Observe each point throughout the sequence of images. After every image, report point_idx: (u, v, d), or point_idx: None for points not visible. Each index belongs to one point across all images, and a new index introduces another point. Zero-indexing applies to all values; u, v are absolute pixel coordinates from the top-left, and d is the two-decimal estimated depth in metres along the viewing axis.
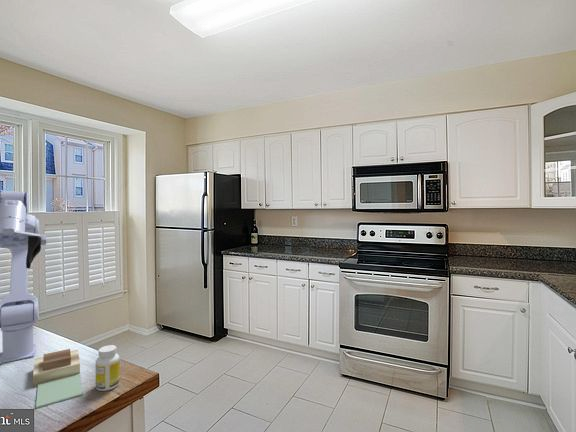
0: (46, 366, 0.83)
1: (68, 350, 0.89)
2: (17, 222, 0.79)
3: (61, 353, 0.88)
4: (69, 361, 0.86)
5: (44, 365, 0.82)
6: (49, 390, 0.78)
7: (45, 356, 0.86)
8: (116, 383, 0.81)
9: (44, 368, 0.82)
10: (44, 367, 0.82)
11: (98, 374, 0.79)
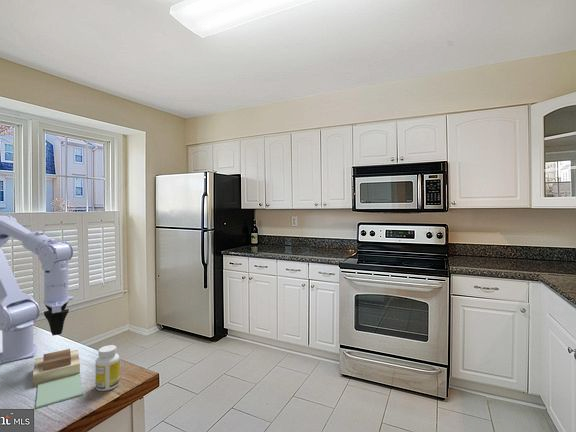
0: (46, 366, 0.83)
1: (68, 350, 0.89)
2: None
3: (61, 353, 0.88)
4: (69, 361, 0.86)
5: (44, 365, 0.82)
6: (49, 390, 0.78)
7: (45, 356, 0.86)
8: (116, 383, 0.81)
9: (44, 368, 0.82)
10: (44, 367, 0.82)
11: (98, 374, 0.79)
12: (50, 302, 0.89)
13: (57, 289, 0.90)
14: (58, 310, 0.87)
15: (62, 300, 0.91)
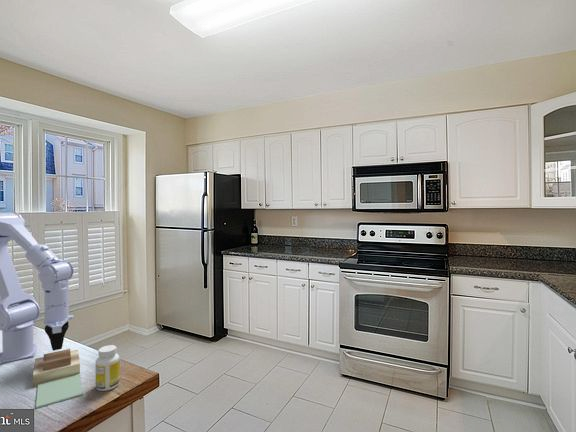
0: (46, 366, 0.83)
1: (68, 350, 0.89)
2: None
3: (61, 353, 0.88)
4: (69, 361, 0.86)
5: (44, 365, 0.82)
6: (49, 390, 0.78)
7: (45, 356, 0.86)
8: (116, 383, 0.81)
9: (44, 368, 0.82)
10: (44, 367, 0.82)
11: (98, 374, 0.79)
12: (50, 322, 0.90)
13: (57, 309, 0.90)
14: (58, 330, 0.87)
15: (62, 319, 0.91)
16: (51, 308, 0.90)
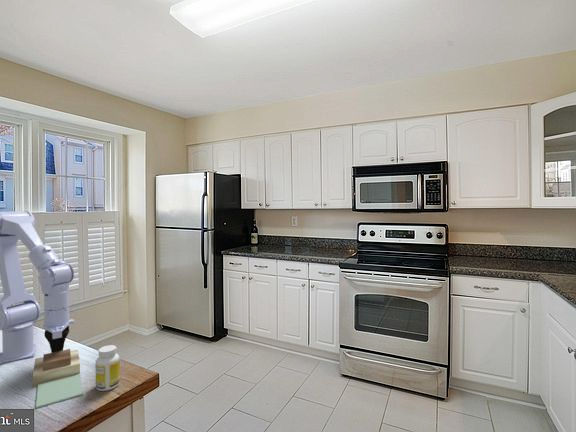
0: (46, 366, 0.83)
1: (68, 350, 0.89)
2: None
3: (61, 353, 0.88)
4: (69, 361, 0.85)
5: (44, 365, 0.82)
6: (49, 390, 0.78)
7: (45, 356, 0.86)
8: (116, 383, 0.81)
9: (44, 368, 0.82)
10: (44, 367, 0.82)
11: (98, 373, 0.79)
12: (50, 327, 0.86)
13: (58, 313, 0.87)
14: (59, 336, 0.84)
15: (63, 324, 0.88)
16: (51, 312, 0.86)
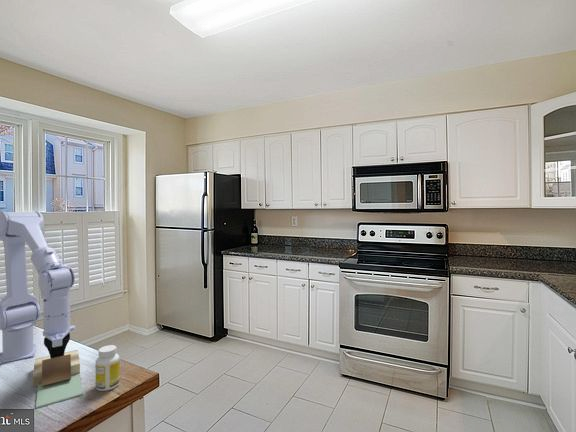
0: (45, 385, 0.80)
1: (68, 358, 0.84)
2: None
3: (61, 364, 0.82)
4: None
5: (43, 385, 0.79)
6: (49, 390, 0.78)
7: (44, 367, 0.80)
8: (116, 383, 0.81)
9: (43, 385, 0.80)
10: (43, 385, 0.79)
11: (98, 374, 0.79)
12: (50, 334, 0.82)
13: (58, 319, 0.82)
14: (59, 344, 0.79)
15: (63, 331, 0.83)
16: (51, 319, 0.82)
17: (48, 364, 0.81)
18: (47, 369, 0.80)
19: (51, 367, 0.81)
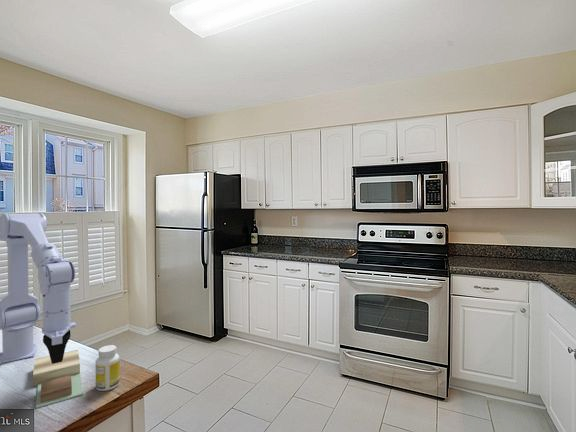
0: None
1: None
2: None
3: None
4: None
5: None
6: None
7: None
8: (116, 383, 0.81)
9: None
10: None
11: (98, 373, 0.79)
12: (49, 331, 0.77)
13: (58, 316, 0.78)
14: (59, 341, 0.75)
15: (63, 328, 0.79)
16: (50, 315, 0.77)
17: None
18: None
19: None
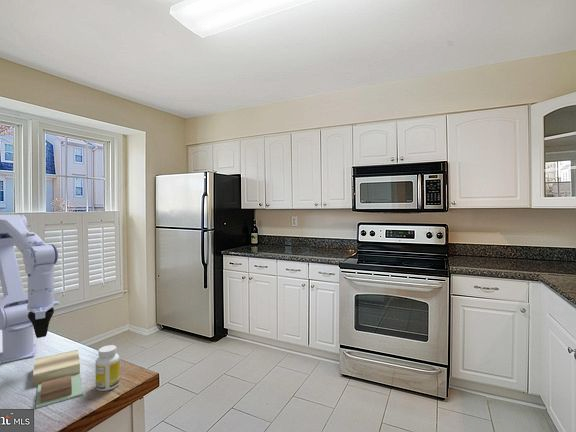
0: None
1: None
2: None
3: None
4: None
5: None
6: None
7: None
8: (116, 383, 0.81)
9: None
10: None
11: (98, 374, 0.79)
12: (34, 307, 0.85)
13: (41, 294, 0.85)
14: (42, 316, 0.82)
15: (47, 305, 0.86)
16: (34, 293, 0.85)
17: None
18: None
19: None
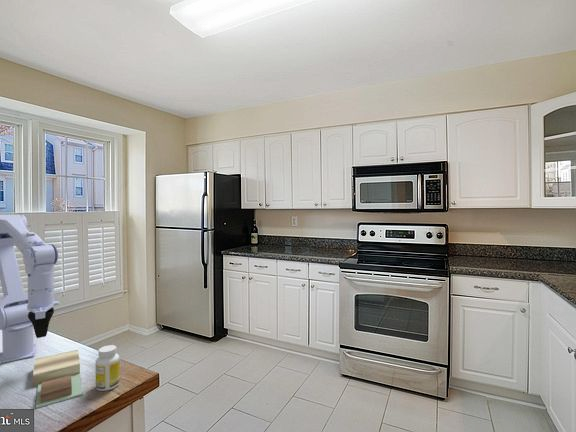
0: None
1: None
2: None
3: None
4: None
5: None
6: None
7: None
8: (116, 383, 0.81)
9: None
10: None
11: (98, 374, 0.79)
12: (34, 307, 0.85)
13: (41, 294, 0.85)
14: (42, 316, 0.82)
15: (47, 305, 0.86)
16: (34, 293, 0.85)
17: None
18: None
19: None
